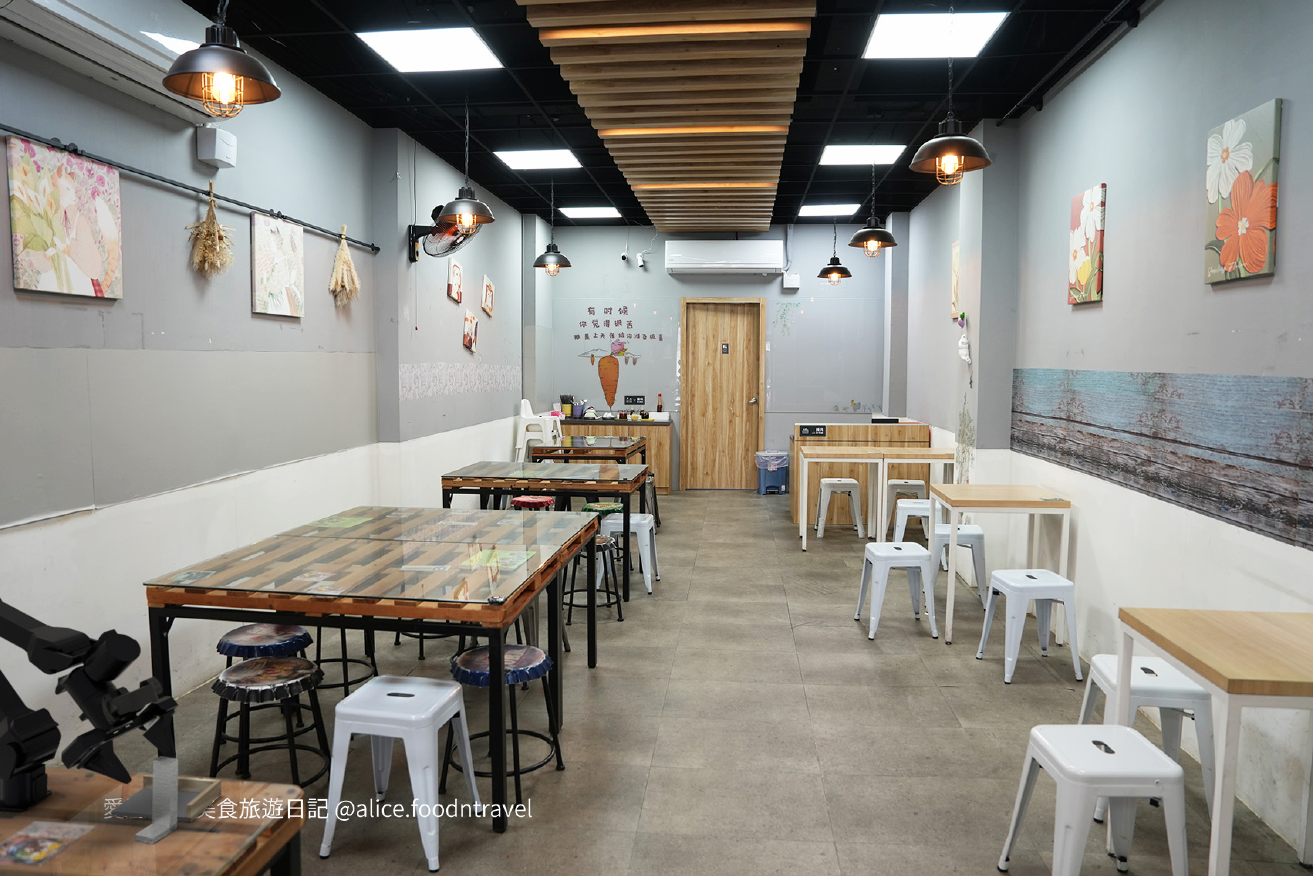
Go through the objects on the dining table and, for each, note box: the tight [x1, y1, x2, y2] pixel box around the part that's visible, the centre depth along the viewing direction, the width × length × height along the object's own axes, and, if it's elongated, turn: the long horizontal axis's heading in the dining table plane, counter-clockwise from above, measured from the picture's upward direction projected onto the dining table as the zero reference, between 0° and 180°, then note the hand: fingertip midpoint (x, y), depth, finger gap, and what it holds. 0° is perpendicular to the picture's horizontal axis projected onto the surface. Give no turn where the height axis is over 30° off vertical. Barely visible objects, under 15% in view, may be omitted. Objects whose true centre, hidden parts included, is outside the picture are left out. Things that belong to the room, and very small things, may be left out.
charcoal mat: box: [110, 787, 222, 823], centre depth 145 cm, size 14×9×1 cm, turn 88°
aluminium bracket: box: [134, 755, 179, 845], centre depth 135 cm, size 4×5×12 cm
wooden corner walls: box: [142, 773, 223, 823], centre depth 145 cm, size 14×9×3 cm, turn 88°
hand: (152, 769), depth 137 cm, fingers open, 9 cm apart
